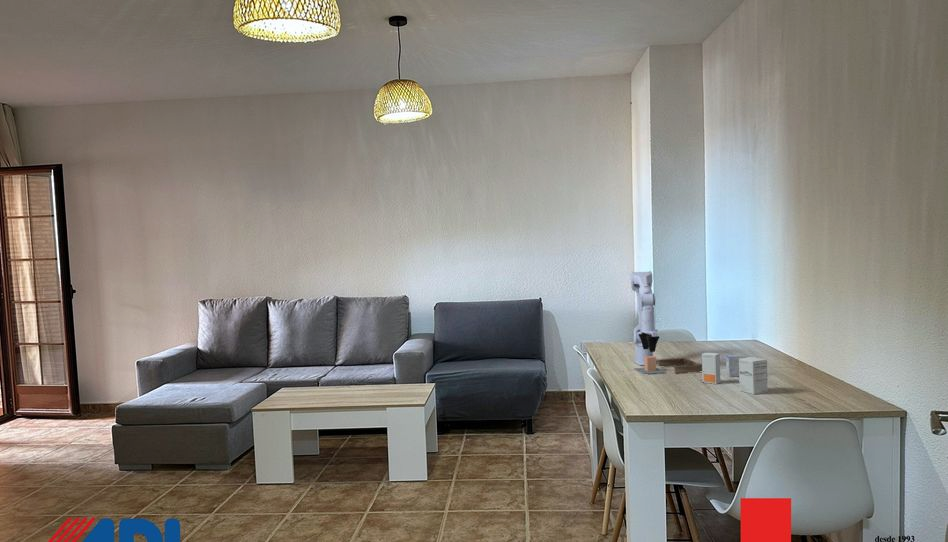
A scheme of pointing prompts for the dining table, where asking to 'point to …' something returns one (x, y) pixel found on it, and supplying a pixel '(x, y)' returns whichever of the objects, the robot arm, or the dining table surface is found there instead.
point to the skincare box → (711, 368)
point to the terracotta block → (649, 363)
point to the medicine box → (733, 364)
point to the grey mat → (649, 371)
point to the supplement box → (753, 375)
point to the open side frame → (689, 367)
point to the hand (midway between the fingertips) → (649, 350)
